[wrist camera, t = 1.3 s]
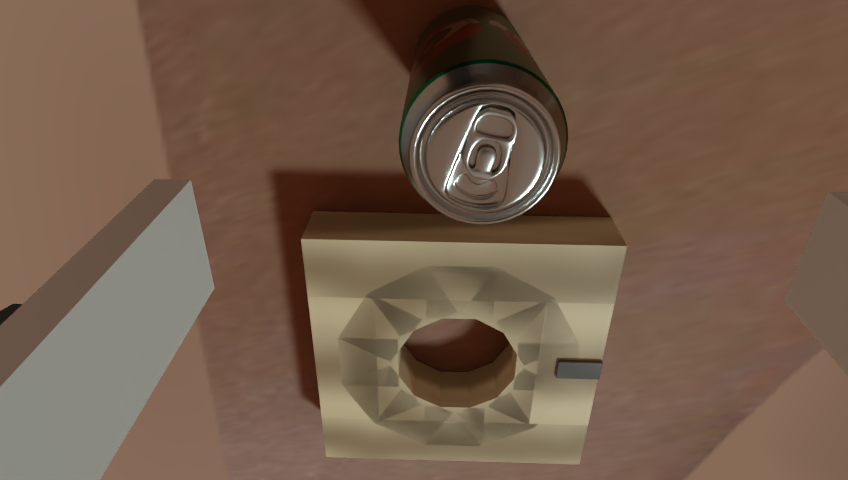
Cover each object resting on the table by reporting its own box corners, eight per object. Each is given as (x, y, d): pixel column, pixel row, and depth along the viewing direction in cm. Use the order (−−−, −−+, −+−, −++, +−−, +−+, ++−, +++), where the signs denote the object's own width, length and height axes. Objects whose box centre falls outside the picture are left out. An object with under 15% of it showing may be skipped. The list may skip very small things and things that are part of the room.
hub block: (312, 211, 31) (300, 241, 28) (611, 217, 30) (628, 248, 28) (334, 420, 39) (325, 459, 36) (569, 426, 38) (579, 466, 36)
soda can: (405, 102, 28) (382, 219, 17) (426, -8, 25) (415, 49, 15) (505, 124, 28) (543, 250, 18) (537, 17, 25) (602, 90, 15)
